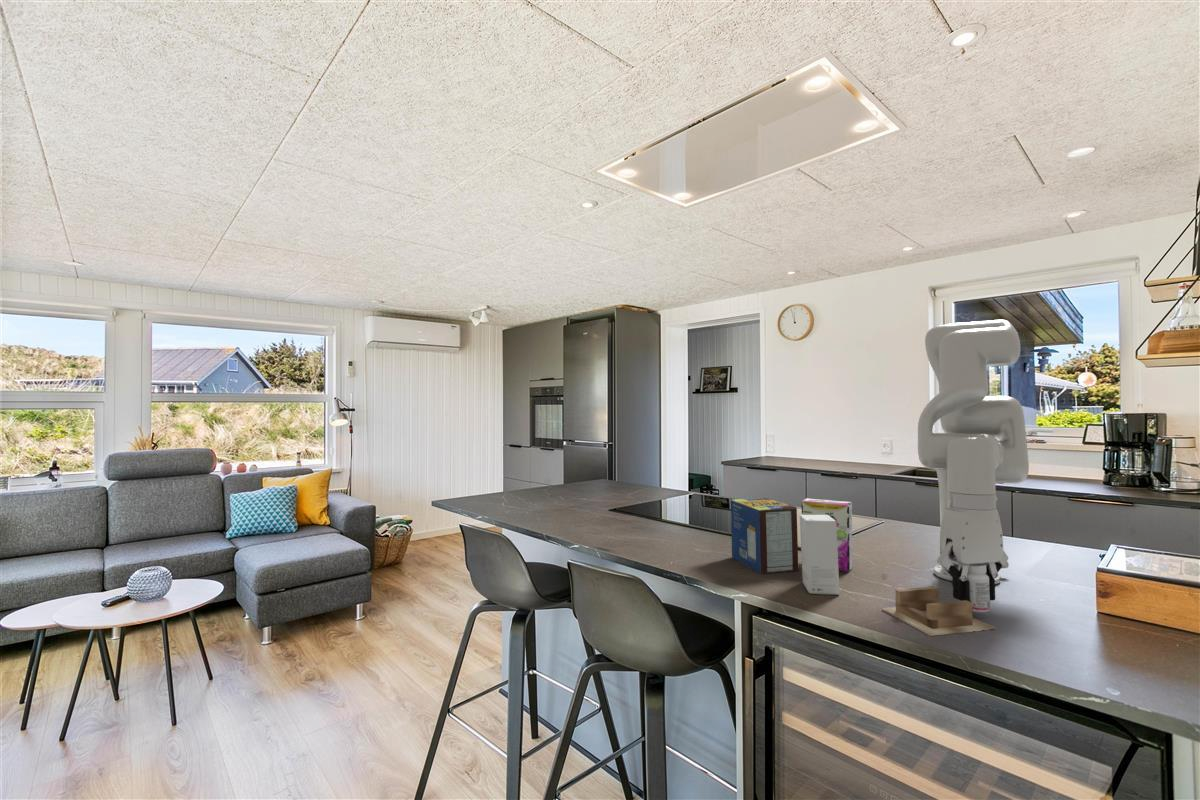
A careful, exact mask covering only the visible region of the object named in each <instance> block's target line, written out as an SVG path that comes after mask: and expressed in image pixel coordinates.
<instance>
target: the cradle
mask: <svg viewBox="0 0 1200 800" xmlns="http://www.w3.org/2000/svg"><path fill="white" fill-rule="evenodd" d="M938 590H939V588H937V587H935V586H923V587H912V588H911V587H909V588H900V589H899V588H898V589H897V588H896V589H895V606H890V607H882V608H881V611H883V612H884V613H886V614H888V615H890V616H892V617H894V618H896V619H897V618H898V619H897V620H900V621H902V622H903V623H905V624H907V625H909V626H911V627H913V628H915V629H917V630H919V631H921V632H922V633H924V634H926V635H928V636H931V637H932V636H941V635H951V634H952V635H953V634H962V633H963V634H964V633H972V632H973V631H975V632H982V630H985V631H991V630H990V629H995V630H996V627H995V626H993V625H991V624H988V623H986V622H984V621H981V620H979V619H977V618H975V617H973V611H972V602H969V601H967V600H964V601H959V600H955V601H954V600H953V601H942V602H939V591H938Z"/></svg>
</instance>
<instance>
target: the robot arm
mask: <svg viewBox="0 0 1200 800" xmlns="http://www.w3.org/2000/svg"><path fill="white" fill-rule="evenodd" d="M1020 340H1021V339H1020V336H1019V334H1018V331H1017V330H1016V328H1015V327H1014V325H1013V324H1012V323H1011V322H1010V321H1009V320H1006V319H994V320H981V321H980V320H979V321H970V322H969V321H967V322H954V323H947V324H940V325H937V326H934V327H932V328H930V329H928V331H927V332H926V334H925V339H924V344H925V351H926V356H927V359H928V361H929V365H930V367H931V368H932V371H933V372H934V375H935V376H936V380H937V383H938V394H936V395H935V396H934V397H933V398H932V399H931V400H930V401H929V402H928V403H927V404H926V406H924V408H923V410H922V412H921V414H919V415H920V416H919V418H918V423H917V454H918V460H919V462H920V463H921V465H922V466H923V467H924V468H927V469H930V470H935V471H936V475H937V482H938V483H937V484H938V495H939V517H940V518H939V520H940V522H939V524H940V533H939V556H938V557H937V560H936V563H937V564H938V565H935V566H934V567H933V574H934V575H935V576H936V577H939V578H941V579H943V580H947V581H948V582H949V581H950V582H952V597H953V598H954V599H956V600H957V601H959V600H961V601H964V600H967V601H970V585H969V581H967V580H966V578H967V573H968V568H969V565H971V564H986V573H985V574H986V575H987V576H988V577H989V591H990V601H995V600H996V585H997V584H999V583H1000V582H1001V576H1000V575H999V572H1000V571H1001V569H1008V568H1009V562H1008V560H1009V556H1008V555H1007V553H1006V552H1005V551H1004V539H1003V538H1004V536H1003V528H1002V524H1001V519H1000V514H999V511H998V509H997V501H998V496H997V494H996V493H997V492H996V491H997V490H996V484H1019V483H1022V482H1024V481H1026V480H1027V478H1028V475H1029V470H1030V469H1029V468H1030V467H1029V466H1030V465H1029V464H1030V463H1029V452H1028V450H1029V449H1028V443H1027V434H1026V433H1027V432H1026V431H1027V430H1026V423H1025V421H1026V420H1025V413H1024V409H1023V407H1022V404H1021V403H1020V401H1019V400H1018V399H1016V398H1015V397H1012V396H1008V395H988V394H989V383H988V371H987V370H988V369H987V368H988V367H1004V366H1012V365H1014V364H1016V363H1017V362H1018V360H1019V358H1020V355H1021V341H1020ZM937 421H940V426H941V429H942V431H943V432H944V433H943V432H942V433H941V432H938V433H935V432H933V429H934V425H935V424H936V423H937ZM960 566H961V567H960Z"/></svg>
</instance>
